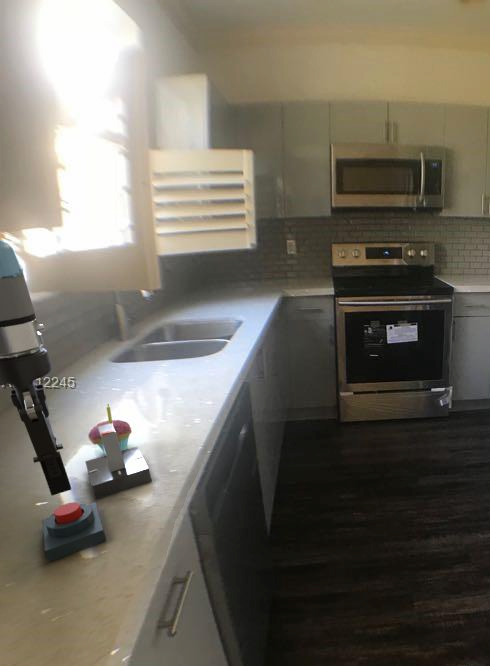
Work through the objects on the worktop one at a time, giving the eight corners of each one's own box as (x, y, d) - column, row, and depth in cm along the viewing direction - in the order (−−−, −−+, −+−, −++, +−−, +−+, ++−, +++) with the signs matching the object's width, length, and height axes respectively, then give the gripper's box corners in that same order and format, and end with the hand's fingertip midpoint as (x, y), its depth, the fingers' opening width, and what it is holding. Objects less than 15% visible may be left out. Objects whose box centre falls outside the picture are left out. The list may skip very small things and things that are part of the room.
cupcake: (143, 445, 108) (132, 398, 103) (110, 462, 101) (96, 412, 96) (119, 439, 111) (106, 393, 107) (85, 455, 104) (70, 407, 100)
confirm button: (56, 516, 77) (53, 507, 76) (81, 508, 79) (78, 499, 78) (57, 527, 74) (54, 518, 73) (83, 518, 76) (80, 509, 75)
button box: (46, 530, 79) (39, 510, 78) (99, 512, 84) (93, 493, 82) (48, 562, 72) (41, 541, 70) (106, 540, 76) (100, 520, 75)
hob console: (88, 473, 97) (84, 460, 95) (140, 458, 102) (137, 445, 101) (95, 499, 87) (91, 485, 86) (152, 481, 93) (148, 467, 92)
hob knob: (107, 461, 95) (97, 425, 92) (121, 457, 96) (111, 421, 94) (111, 472, 91) (100, 435, 88) (125, 467, 92) (115, 431, 89)
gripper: (47, 356, 63) (92, 500, 72) (44, 338, 73) (84, 466, 81) (-23, 368, 59) (33, 519, 68) (-16, 347, 69) (32, 481, 77)
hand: (61, 490), depth 74 cm, fingers closed
